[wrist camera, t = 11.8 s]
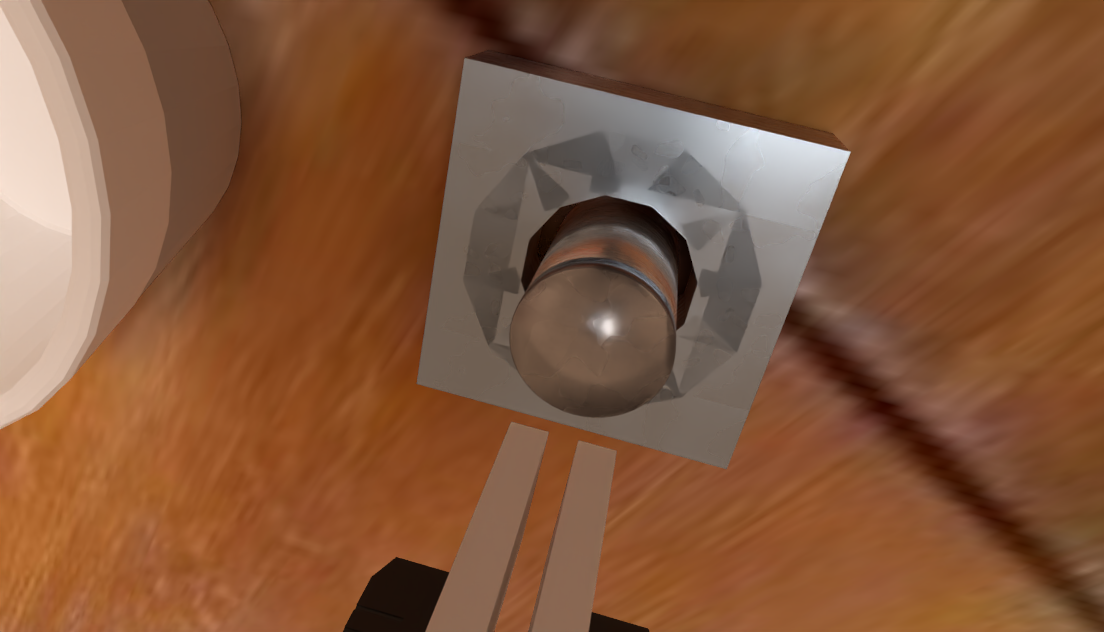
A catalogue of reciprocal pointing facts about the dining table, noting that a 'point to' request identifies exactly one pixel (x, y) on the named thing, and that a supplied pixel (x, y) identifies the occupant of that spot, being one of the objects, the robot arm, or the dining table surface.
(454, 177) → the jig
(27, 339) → the bowl
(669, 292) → the cylindrical peg
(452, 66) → the dining table surface
